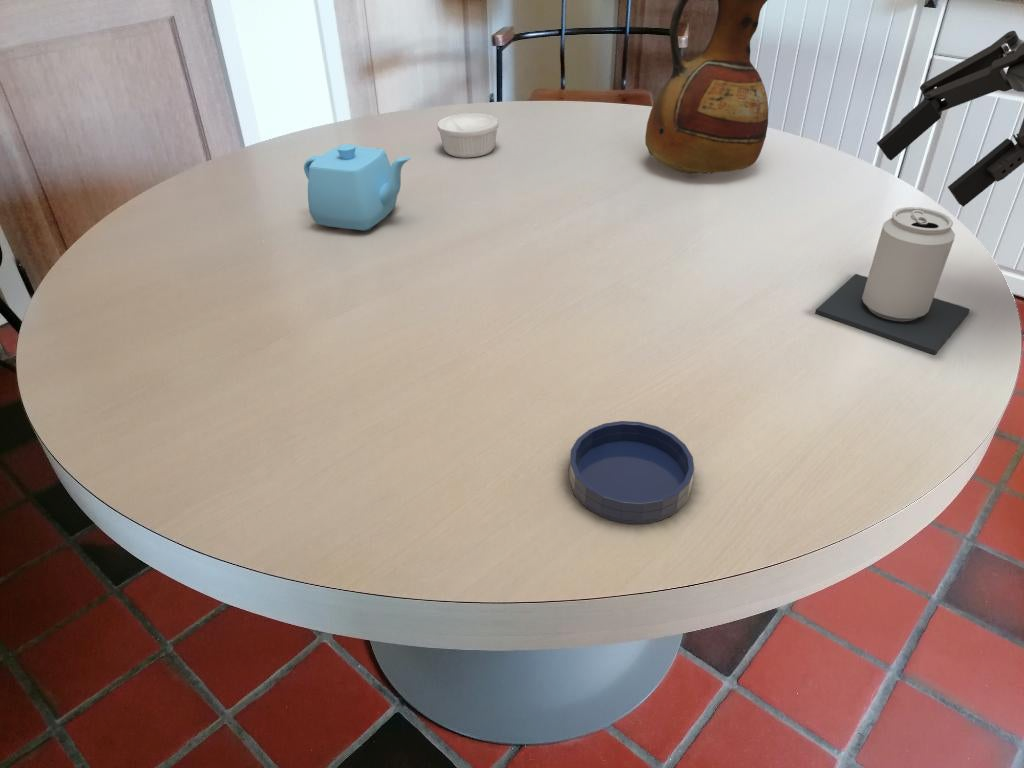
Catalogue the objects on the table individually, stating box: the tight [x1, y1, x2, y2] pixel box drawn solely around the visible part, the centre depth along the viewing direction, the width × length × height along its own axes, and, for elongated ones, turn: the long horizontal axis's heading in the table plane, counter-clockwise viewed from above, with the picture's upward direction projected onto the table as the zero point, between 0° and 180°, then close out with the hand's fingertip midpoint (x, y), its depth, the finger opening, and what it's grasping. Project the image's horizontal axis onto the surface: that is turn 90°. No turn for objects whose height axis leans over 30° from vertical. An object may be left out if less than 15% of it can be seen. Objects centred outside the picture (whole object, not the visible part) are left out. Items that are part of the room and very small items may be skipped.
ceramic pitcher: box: [644, 0, 769, 175], centre depth 124 cm, size 20×20×30 cm
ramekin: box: [436, 112, 499, 159], centre depth 141 cm, size 11×11×5 cm
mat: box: [814, 273, 971, 355], centre depth 92 cm, size 14×12×1 cm
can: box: [862, 206, 956, 321], centre depth 88 cm, size 8×8×12 cm
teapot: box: [303, 143, 412, 232], centre depth 114 cm, size 12×18×12 cm
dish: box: [569, 420, 695, 525], centre depth 68 cm, size 11×11×2 cm
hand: (916, 173), depth 81 cm, fingers open, 13 cm apart
